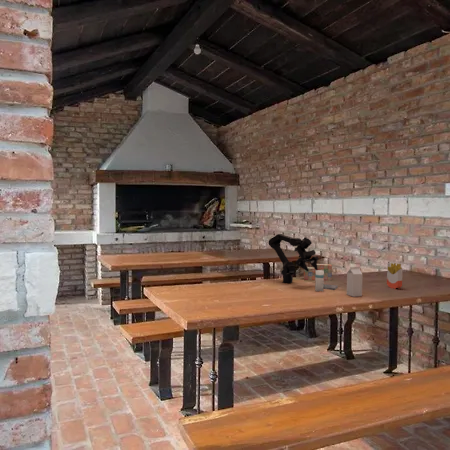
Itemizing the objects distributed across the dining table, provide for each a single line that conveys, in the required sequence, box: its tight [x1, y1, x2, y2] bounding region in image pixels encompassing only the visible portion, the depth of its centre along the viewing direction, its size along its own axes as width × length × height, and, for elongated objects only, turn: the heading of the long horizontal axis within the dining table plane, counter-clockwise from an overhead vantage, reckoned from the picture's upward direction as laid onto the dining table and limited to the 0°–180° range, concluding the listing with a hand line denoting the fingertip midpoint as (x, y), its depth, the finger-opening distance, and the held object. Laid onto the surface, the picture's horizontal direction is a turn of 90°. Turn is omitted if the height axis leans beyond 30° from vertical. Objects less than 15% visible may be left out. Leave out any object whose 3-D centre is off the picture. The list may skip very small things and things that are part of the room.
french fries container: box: [386, 262, 404, 290], centre depth 306 cm, size 5×11×18 cm, turn 20°
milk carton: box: [346, 266, 363, 298], centre depth 281 cm, size 7×7×19 cm
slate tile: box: [323, 283, 339, 291], centre depth 306 cm, size 13×11×1 cm
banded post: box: [314, 270, 325, 292], centre depth 295 cm, size 6×6×14 cm
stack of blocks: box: [303, 263, 333, 281], centre depth 337 cm, size 21×6×12 cm, turn 84°
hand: (312, 270), depth 301 cm, fingers open, 9 cm apart
